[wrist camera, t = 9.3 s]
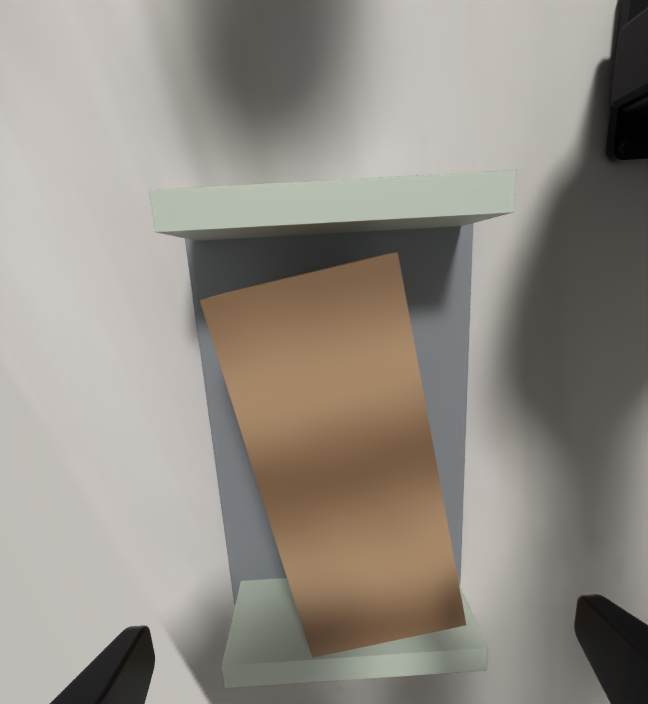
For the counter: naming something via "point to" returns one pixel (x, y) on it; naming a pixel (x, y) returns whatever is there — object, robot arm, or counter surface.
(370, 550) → the shelf board
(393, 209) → the peg cradle
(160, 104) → the counter surface
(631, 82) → the robot arm
